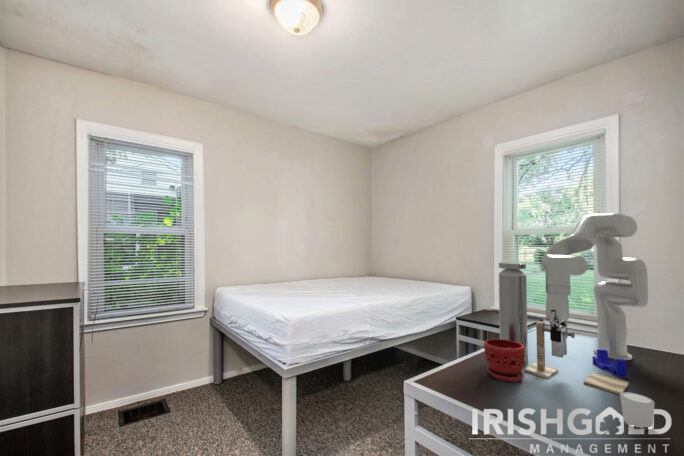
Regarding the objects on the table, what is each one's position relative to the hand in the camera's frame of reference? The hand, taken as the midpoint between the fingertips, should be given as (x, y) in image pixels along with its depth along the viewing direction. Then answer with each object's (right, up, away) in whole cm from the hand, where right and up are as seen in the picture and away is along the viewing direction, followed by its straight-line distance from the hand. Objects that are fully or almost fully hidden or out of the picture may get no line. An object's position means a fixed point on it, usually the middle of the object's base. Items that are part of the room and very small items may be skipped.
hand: (559, 339), depth 114 cm
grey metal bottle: (-9, -14, +14) cm, 22 cm away
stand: (-2, -14, +1) cm, 14 cm away
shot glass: (+1, -13, -30) cm, 32 cm away
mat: (+12, -13, -6) cm, 19 cm away
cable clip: (+24, -14, +6) cm, 28 cm away
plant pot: (-20, -14, 0) cm, 24 cm away
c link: (0, -6, 0) cm, 6 cm away
